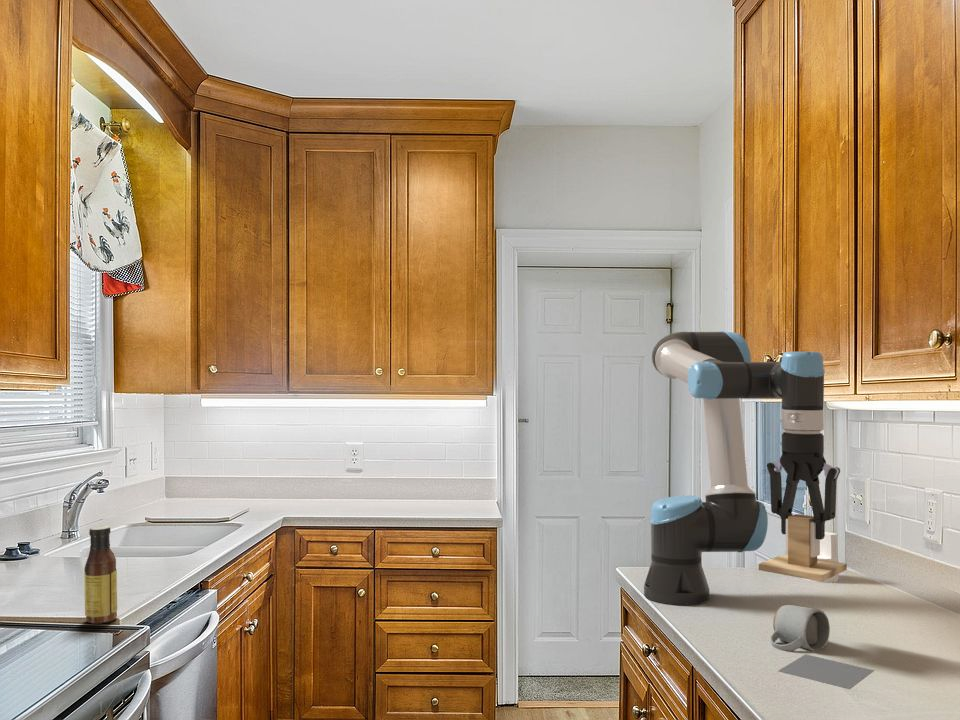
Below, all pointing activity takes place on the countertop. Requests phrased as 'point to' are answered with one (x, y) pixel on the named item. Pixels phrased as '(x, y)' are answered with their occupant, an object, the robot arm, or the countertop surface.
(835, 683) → the mat
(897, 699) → the countertop surface
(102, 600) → the sauce bottle
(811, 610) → the ceramic mug
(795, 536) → the wooden plaque with block
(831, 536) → the base with upright slab
